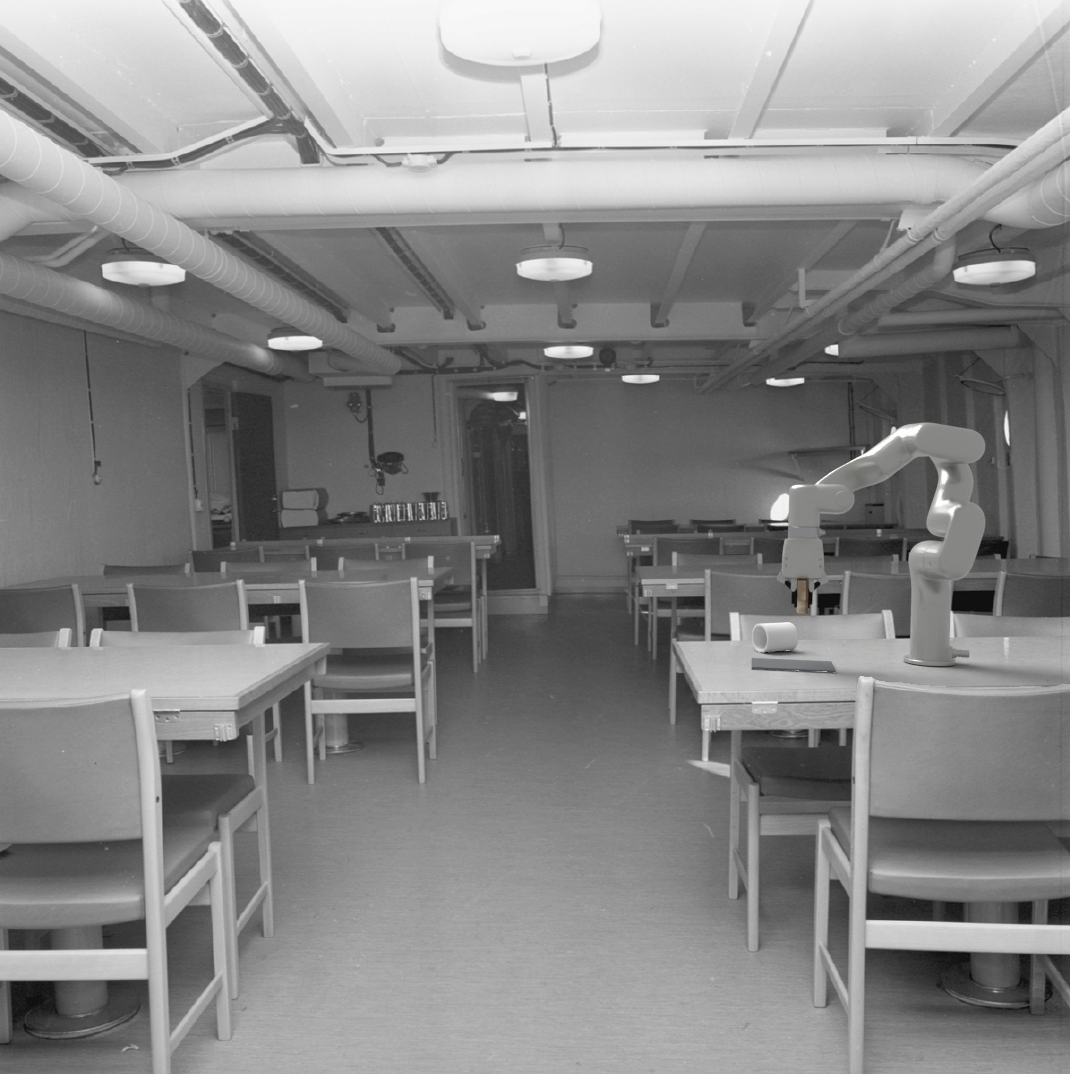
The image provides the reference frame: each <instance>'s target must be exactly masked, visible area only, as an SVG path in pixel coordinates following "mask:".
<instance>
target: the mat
mask: <svg viewBox="0 0 1070 1074" xmlns="http://www.w3.org/2000/svg"><path fill="white" fill-rule="evenodd" d="M754 669H768V670H767V671H776V670H799V671H827V672H836V673H837V670H836V668H835V666H834V664H833V661H831V660H811V659H808V660H807V659H790V658H789V659H787V658H786V659H785V658H782V659H781V658H768V657H767V658H764V657H763V658H762V657H761V658H760V657H751V670H754Z"/></svg>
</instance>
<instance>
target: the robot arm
mask: <svg viewBox="0 0 1070 1074" xmlns="http://www.w3.org/2000/svg"><path fill="white" fill-rule="evenodd" d="M985 451H986V441H985V438H984V437H983V436H982V435H981V433H979V432H978V431H976V430H974V429H971V428H964V427H959V426H954V425H953V426H952V425H946V424H942V423H941V424H940V423H935V422H928V421H927V422H917V423H909V424H905V425H902V426H900V427H899V428H898V429H897V428H896V430H894V431H893V432H891V433H890V434H888V436H886V437H885V438H884V439H882V440H881V441H879V442H878V443H876V445H875V446H873V447H871V448H870V449H869V450H868V451H866V452H865V453H863V454H862V455H860V456H858V457H855V458H854V459H851V460H850V461H849V462H847V463H845V464H843V465H841V466H839V467H837V468H836V469H834V470H833V471H831V472H829V473H828V474H827V475H825V476H824V477H822V478H821V479H820V480H818V481H817V482H816V483H814V484H793V485H792V486H790V487H789V491H788V520H787V521H788V524H787V527H788V528H787V538H784V542H783V547H782V557H781V570H780V571H779V573H778V575H777V577H776V581H777V582H779V583H781V584H784V585H785V586H786V587H787V588H788V589H789V590H790V591H791V596H790V597H791V601H790V604H791V605H793V607H794V608H795V609H796V608H797V589H796V583H797V579H807V580H808V581H809V582H808V609H810V608H811V607H810V606H811V605H813V601H814V600H813V597H814V596H813V594H814V592H815V590H817V589H818V587H820V586H822V585H825V584H827V583H829V578H828V576H827V573H826V572H825V557H824V556H825V555H824V545H823V539H820V537H821V536H826V529H822V528H820V521H821V520H820V517H821V515H820V514H825V515H826V514H827V515H842V514H845V513H847V512H849V511H850V510H851V509H852V508H853V506H854V504H855V500H856V499H855V494H854V492H856V491H858V490H861V489H863V488H867V487H870V486H874V485H875V486H876V485H877V484H879V483H883V482H885V481H886V480H887V479H889V478H891V477H892V476H893V475H894V474H895V473H897V472H898V471H900V470H902V469H903V468H904V467H905V466H906V465H908V464H909V463H911V462H912V461H913V460H914V459H916V458H919V457H920V458H922V457H923V458H924V457H929V459H930V460H931V461H932V463H933V464H934V467H935V469H936V471H937V475H938V481H937V485H936V486H937V487H936V490H935V492H934V496H933V499H932V502H931V505H930V508H929V510H928V514H927V517H926V528H927V530H928V532H930V534H932V535H933V536H936V537H939V538H944V539H943V540H941V541H940V540H924V541H923V540H922V541H920V542H918V543H916V544H915V545H914V546H913V547H912V549H911V550H910V552H909V555H908V570H909V576H910V583H911V584H910V585H911V589H910V590H911V594H910V595H911V597H910V598H911V599H910V631H909V635H910V637H909V642H910V643H909V654H906V655H903V662H905V663H908V664H912V665H917V666H927V667H928V666H929V667H950V666H955V665H956V663H957V661H956V658H966V659H969V658H970V650H969V649H956V648H953V646H951V645H950V644H951V643H950V641H951V613H952V612H951V610H952V609H951V607H952V592H951V587H950V583H949V581H959V580H962V579H964V578H965V577H966V576H967V575H968V574H969V573H970V572H971V570H972V568H973V567H974V563H975V560H976V558H977V555H978V551H979V549H980V545H981V542H982V539H983V536H984V533H985V530H986V529H985V528H986V517H985V513H984V511H983V509H982V508H981V507H980V506H979V505H978V504H976V503H975V502H972V501H971V498H972V493H973V491H974V490H973V489H974V483H975V482H974V481H975V480H974V475H973V472H972V470H971V468H970V465H969V464H973V463H976V462H977V461H979V460H980V459H981V458H982V457H983V455H984V454H985ZM788 579H789V580H788Z"/></svg>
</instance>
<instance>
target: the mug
mask: <svg viewBox="0 0 1070 1074" xmlns="http://www.w3.org/2000/svg"><path fill="white" fill-rule="evenodd" d="M750 635H751V644H752V646H753V649H755V651H756V652H757V651H758V653H759V652H762V653H761V654H766V653H765V652H768V653H776V652H775V651H784V652H787V651H786V650H792V651H794V650H795V649H796V647H797V645H798V642H799V632H798V629H797V627H796V625H794V624H793V623H792V622H789V621H787V622H786V621H785V622H766V623H765V622H764V623H757V624H755V625H754V627H753V628H752V631H751V634H750Z"/></svg>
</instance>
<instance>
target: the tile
mask: <svg viewBox="0 0 1070 1074" xmlns="http://www.w3.org/2000/svg"><path fill="white" fill-rule="evenodd" d="M808 582H809V581H808V579H796V589H797V608H795V611H796V612H797V614H800V615H801V614H807V615H808V613H809V611H808V610H809V608H808V588H809V583H808Z"/></svg>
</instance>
